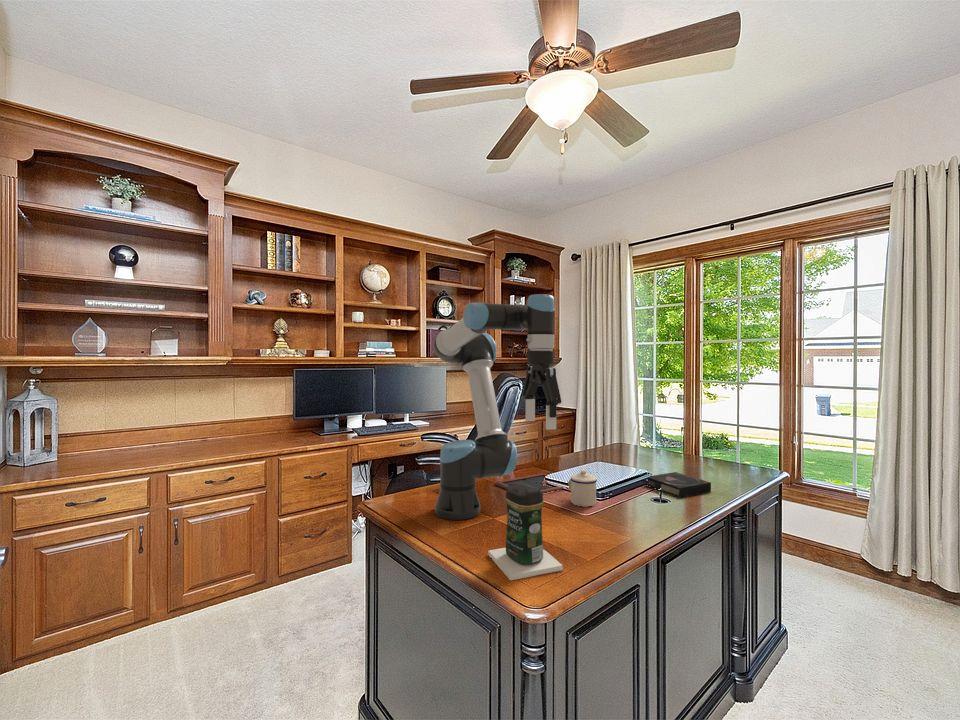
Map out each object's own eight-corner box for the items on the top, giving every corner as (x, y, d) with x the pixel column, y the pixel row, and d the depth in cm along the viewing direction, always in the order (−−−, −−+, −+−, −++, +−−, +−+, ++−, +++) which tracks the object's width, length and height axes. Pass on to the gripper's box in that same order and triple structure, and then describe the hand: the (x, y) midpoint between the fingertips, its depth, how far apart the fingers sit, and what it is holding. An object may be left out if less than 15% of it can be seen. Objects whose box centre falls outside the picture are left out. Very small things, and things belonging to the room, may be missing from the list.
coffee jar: (500, 554, 115) (500, 482, 114) (525, 546, 119) (525, 477, 118) (523, 569, 106) (523, 492, 106) (548, 561, 110) (548, 487, 110)
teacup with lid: (602, 504, 155) (602, 471, 155) (583, 509, 150) (583, 475, 150) (578, 495, 165) (578, 464, 165) (559, 499, 161) (559, 467, 161)
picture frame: (525, 499, 162) (576, 488, 175) (525, 494, 162) (576, 483, 175) (495, 486, 179) (543, 477, 192) (495, 481, 179) (543, 472, 192)
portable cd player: (644, 486, 177) (644, 476, 177) (675, 481, 184) (675, 472, 184) (678, 499, 162) (678, 488, 162) (710, 493, 169) (710, 482, 169)
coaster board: (488, 555, 117) (488, 550, 117) (535, 546, 121) (535, 542, 121) (510, 580, 103) (510, 575, 103) (562, 570, 108) (562, 565, 108)
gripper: (511, 349, 136) (511, 418, 136) (548, 350, 112) (548, 433, 112) (534, 349, 138) (533, 417, 138) (575, 350, 114) (574, 432, 115)
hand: (540, 425), depth 125 cm, fingers open, 13 cm apart
